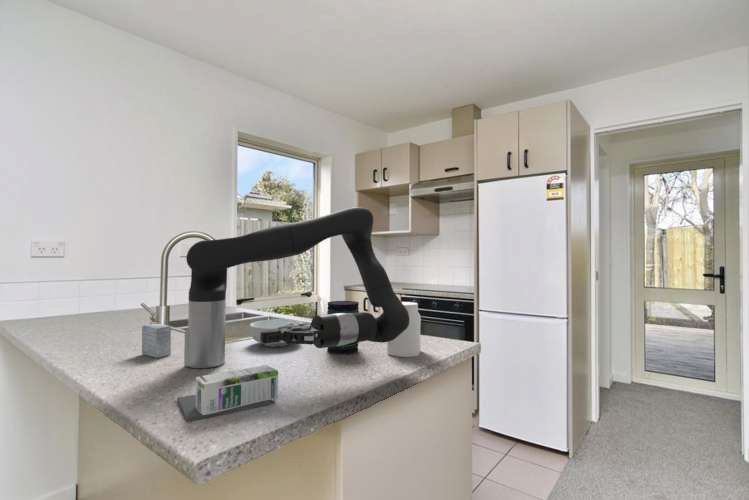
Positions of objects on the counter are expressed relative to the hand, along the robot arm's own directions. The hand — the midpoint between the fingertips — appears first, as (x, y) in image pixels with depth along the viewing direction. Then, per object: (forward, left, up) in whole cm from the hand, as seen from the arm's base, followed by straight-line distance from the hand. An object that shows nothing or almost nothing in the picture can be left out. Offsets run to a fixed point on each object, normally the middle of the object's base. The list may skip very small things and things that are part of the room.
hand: (261, 337), depth 82 cm
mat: (-6, -4, -12) cm, 14 cm away
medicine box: (-41, +32, -12) cm, 53 cm away
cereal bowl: (-10, +48, -12) cm, 50 cm away
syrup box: (+3, -1, -9) cm, 9 cm away
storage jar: (+13, +40, -12) cm, 44 cm away
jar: (+32, +39, -12) cm, 52 cm away
